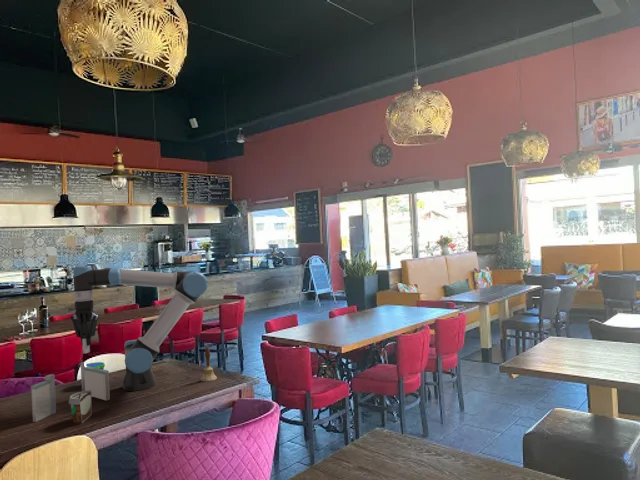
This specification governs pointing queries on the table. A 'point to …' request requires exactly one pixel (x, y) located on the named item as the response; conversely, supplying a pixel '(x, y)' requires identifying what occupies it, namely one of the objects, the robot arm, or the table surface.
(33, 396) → the fence
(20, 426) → the table surface
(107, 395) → the gate
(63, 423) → the table surface
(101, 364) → the snack cup
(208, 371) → the hand bell
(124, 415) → the table surface
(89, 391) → the food container
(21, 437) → the table surface
